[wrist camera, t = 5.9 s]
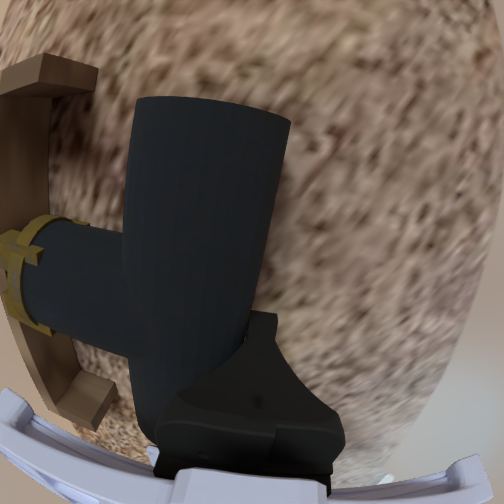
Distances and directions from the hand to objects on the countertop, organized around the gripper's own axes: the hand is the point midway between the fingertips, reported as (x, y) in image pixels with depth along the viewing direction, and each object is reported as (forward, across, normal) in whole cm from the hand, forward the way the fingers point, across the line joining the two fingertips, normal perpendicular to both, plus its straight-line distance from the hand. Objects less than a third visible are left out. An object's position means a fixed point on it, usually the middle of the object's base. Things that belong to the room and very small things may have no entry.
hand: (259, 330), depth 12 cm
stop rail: (+2, +11, -1) cm, 11 cm away
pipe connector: (+2, +6, -1) cm, 7 cm away
